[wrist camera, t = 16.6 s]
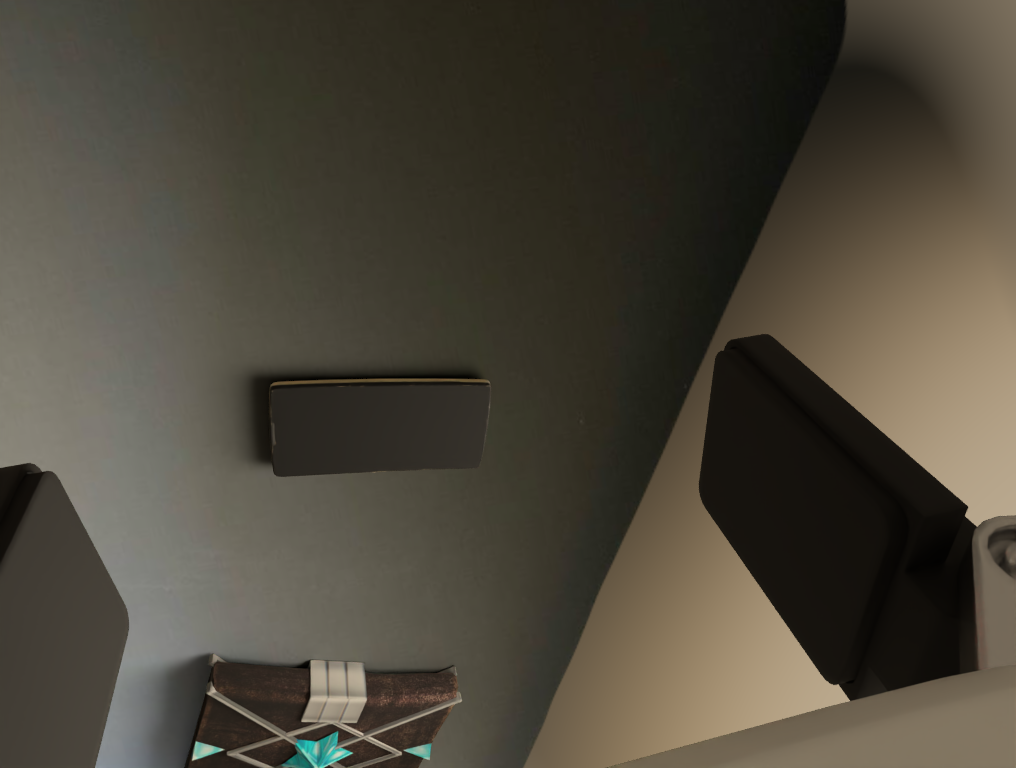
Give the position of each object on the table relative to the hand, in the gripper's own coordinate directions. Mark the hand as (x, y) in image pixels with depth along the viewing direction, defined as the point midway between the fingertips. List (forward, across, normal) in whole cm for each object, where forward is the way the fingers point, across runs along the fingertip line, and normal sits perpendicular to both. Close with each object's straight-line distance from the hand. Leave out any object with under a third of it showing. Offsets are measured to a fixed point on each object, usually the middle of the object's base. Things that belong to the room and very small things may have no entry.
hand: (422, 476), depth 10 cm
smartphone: (+34, +1, +22) cm, 40 cm away
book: (+34, +12, +54) cm, 65 cm away
